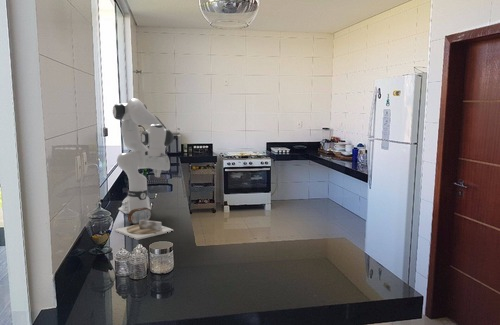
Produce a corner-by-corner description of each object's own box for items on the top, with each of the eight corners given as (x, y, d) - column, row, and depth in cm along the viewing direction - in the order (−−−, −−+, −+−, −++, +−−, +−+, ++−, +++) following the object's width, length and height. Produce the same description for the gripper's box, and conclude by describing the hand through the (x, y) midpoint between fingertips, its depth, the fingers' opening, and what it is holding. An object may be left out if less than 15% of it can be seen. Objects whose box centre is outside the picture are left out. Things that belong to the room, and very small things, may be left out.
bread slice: (149, 219, 233) (149, 206, 232) (152, 220, 231) (152, 206, 230) (127, 224, 222) (127, 210, 221) (130, 225, 220) (130, 211, 219)
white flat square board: (114, 231, 209) (114, 228, 209) (150, 223, 225) (150, 221, 225) (137, 240, 194) (136, 237, 194) (173, 231, 210) (173, 229, 210)
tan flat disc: (119, 231, 203) (119, 223, 203) (139, 223, 220) (139, 215, 220) (151, 235, 198) (151, 226, 197) (169, 226, 215) (169, 218, 214)
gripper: (172, 153, 216) (172, 178, 217) (152, 151, 230) (152, 174, 231) (163, 154, 211) (163, 179, 213) (142, 152, 225) (142, 175, 226)
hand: (157, 177), depth 222 cm, fingers closed
